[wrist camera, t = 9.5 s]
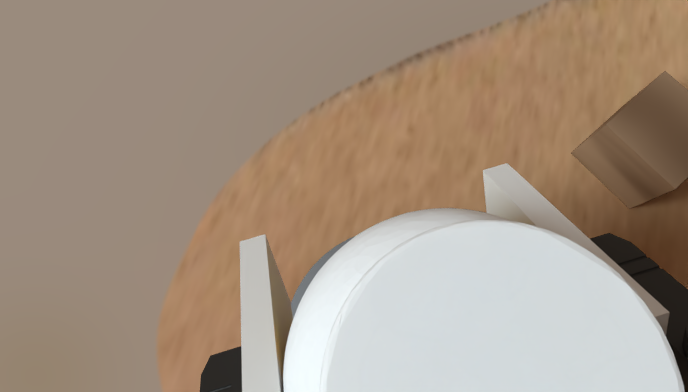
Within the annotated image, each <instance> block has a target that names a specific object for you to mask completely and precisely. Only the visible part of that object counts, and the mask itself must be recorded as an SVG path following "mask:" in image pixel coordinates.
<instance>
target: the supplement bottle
mask: <svg viewBox="0 0 688 392" xmlns="http://www.w3.org/2000/svg"><path fill="white" fill-rule="evenodd" d="M283 385H284V392H685V390H684V385H683V381H682V378H681V375H680V371H679V368H678V365H677V362H676V359H675V356H674V353H673V351H672V349H671V347H670V345H669V342H668V340H667V338H666V336H665V334H664V332H663V330H662V328H661V326H660V324H659V322H658V320H657V319H656V317H655V316H654V314H653V313H652V311H651V310H650V308H649V307H648V305H647V304H646V302H645V301H644V300H643V299H642V297H641V296H640V295H639V294H638V292H637V291H636V290H635V289H634V288H633V287H632V286H631V285H630V284H629V283H628V282H627V281H626V280H625V279H624V278H623V277H622V276H621V275H620V274H619V273H618V272H617V271H616V270H615V269H613V268H612V267H611V266H610V265H609V264H607V263H606V262H605V261H604V260H603V259H601V258H600V257H598V256H597V255H595V254H594V253H592V252H591V251H589V250H588V249H586V248H585V247H583V246H581V245H580V244H578V243H576V242H575V241H572V240H570V239H568V238H566V237H564V236H562V235H559V234H557V233H554V232H552V231H549V230H547V229H544V228H540V227H537V226H534V225H530V224H525V223H521V222H516V221H510V220H508V219H505V218H502V217H499V216H496V215H492V214H489V213H485V212H480V211H474V210H467V209H456V208H437V209H426V210H419V211H414V212H409V213H405V214H402V215H399V216H396V217H393V218H390V219H387V220H385V221H383V222H380V223H378V224H376V225H374V226H372V227H370V228H368V229H366V230H365V231H363V232H361V233H360V234H358V235H357V236H355V237H354V238H352V239H351V240H350V241H349V242H347V243H346V244H345V245H344V246H342V247H341V248H340V249H339V250H338V251H337V252H336V253H335V254H334V255H333V256H332V257H331V258H330V259H329V260H328V261H327V262H326V263H325V264H324V265H323V267H322V268H321V269H320V270H319V271H318V273H317V274H316V275H315V277H314V278H313V280H312V281H311V283H310V285H309V286H308V288H307V290H306V291H305V293H304V295H303V297H302V299H301V301H300V303H299V305H298V308H297V310H296V313H295V316H294V319H293V321H292V324H291V327H290V331H289V335H288V340H287V344H286V350H285V357H284V370H283Z"/></svg>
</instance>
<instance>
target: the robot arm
mask: <svg viewBox="0 0 688 392" xmlns="http://www.w3.org/2000/svg"><path fill="white" fill-rule="evenodd" d="M483 177H484V188H485V199H486V210H487V213H489V214H492V215H496V216H499V217H502V218H505V219H508V220H510V221H516V222H521V223H525V224H530V225H534V226H537V227H540V228H544V229H547V230H549V231H552V232H554V233H557V234H559V235H562V236H564V237H566V238H568V239H570V240H572V241H575V242H576V243H578V244H580V245H581V246H583V247H585V248H586V249H588V250H589V251H591V252H592V253H594V254H595V255H597V256H598V257H600V258H601V259H603V260H604V261H605V262H606V263H607V264H609V265H610V266H611V267H612V268H613V269H615V270H616V271H617V272H618V273H619V274H620V275H621V276H622V277H623V278H624V279H625V280H626V281H627V282H628V283H629V284H630V285H631V286H632V287H633V288H634V289H635V290H636V291H637V292H638V294H639V295H640V296H641V297H642V299H643V300H644V301H645V302H646V304H647V305H648V307H649V308H650V310H651V311H652V313H653V314H654V316H655V317H656V319H657V320H658V322H659V324H660V326H661V328H662V330H663V332H664V334H665V336H666V338H667V340H668V342H669V345H670V347H671V349H672V351H673V353H674V356H675V359H676V362H677V365H678V368H679V371H680V375H681V378H682V381H683V385H684V390H685V392H688V290H687V289H686V288H685V287H684V286H683V285H681V284H680V283H679V282H678V281H677V280H675V279H674V278H673V277H672V276H671V275H669V274H668V273H667V272H666V271H665V270H663V269H660V268H659V265H657V264H656V263H655V262H654V261H653V260H651V259H650V258H647V257H646V255H645V254H644V253H643V252H642V251H641V250H639V249H638V248H637V247H636V246H635V245H633V244H632V243H631V242H629V241H627V240H624V239H622V238H620V237H617V236H615V235H613V234H610V233H607V234H604V235H601V236H598V237H594V238H591V239H589V238H588V237H587V236H586V235H585V234H584V233H583V232H581V231H580V230H579V229H578V228H577V227H576V226H575V225H574V224H573V223H572V222H571V221H569V220H568V219H567V218H566V217H565V216H564V215H563V214H562V213H561V212H560V211H559V210H558V209H556V208H555V207H554V206H553V205H552V204H551V203H550V202H549V201H548V200H547V199H546V198H544V197H543V196H542V195H541V194H540V193H539V192H538V191H537V190H536V189H535V188H534V187H532V186H531V185H530V184H529V183H528V182H527V181H526V180H525V179H524V178H523V177H522V176H520V175H519V174H518V173H517V172H516V171H515V170H514V169H513V168H512V167H511V166H510V165H509V164H507V163H506V164H502V165H499V166H496V167H492V168H489V169H485V170H483ZM240 285H241V347H237V348H234V349H231V350H227V351H224V352H221V353H218V354H214V355H211V356H210V358H209V360H208V362H207V364H206V366H205V368H204V370H203V372H202V374H201V384H200V392H284V385H283V370H284V357H285V350H286V344H287V340H288V335H289V331H290V327H291V324H292V321H293V315H292V308H291V302H290V299H289V297H288V294H287V291H286V289H285V286H284V283H283V281H282V278H281V275H280V273H279V270H278V267H277V265H276V262H275V259H274V256H273V254H272V251H271V248H270V246H269V243H268V240H267V238H266V235H265V234H264V235H261V236H258V237H254V238H251V239H247V240H244V241H241V242H240Z"/></svg>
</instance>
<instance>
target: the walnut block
mask: <svg viewBox="0 0 688 392" xmlns="http://www.w3.org/2000/svg"><path fill="white" fill-rule="evenodd" d="M571 154H572V155H573V156H574V157H576V158H577V159H578V160H579V161H580V162H581V163H582V164H583V165H584V166H585V167H586V168H587V169H588V170H589V171H590V172H591V173H592V174H593V175H594V176H595V177H597V178H598V179H599V180H600V181H601V182H602V183H603V184H604V185H605V186H606V187H607V188H608V189H609V190H610V191H611V192H612V193H613V194H614V195H615V196H616V197H617V198H619V199H620V200H621V201H622V202H623V203H624V204H625V205H626V206H627V207H628V208H629V209H630V208H633V207H635V206H637V205H640V204H642V203H644V202H647V201H649V200H651V199H653V198H656V197H658V196H660V195H663V194H665V193H667V192H670V191H672V190H674V189H676V188H677V187H678V186H679V185H680V184H681V183H682V182H683V181H684V180H685V179H687V178H688V90H687V89H686V88H684V87H683V86H682V85H681V84H680V83H679V82H678V81H676V80H675V79H674V78H673V77H672V76H671V75H669V74H668V73H667V72H666V71H664V72H663V73H662V74H661V75H660V76H658V77H657V78H656V79H655V80H654V81H652V82H651V83H650V84H649V85H648V86H646V87H645V88H644V89H643V90H642V91H640V92H639V93H638V94H637V95H636V96H634V97H633V98H632V99H631V100H630V101H628V102H627V103H626V104H625V105H624V106H622V107H621V108H620V109H619V110H618V111H617V112H616V113H615V114H614V115H612V116H611V117H610V118H609V119H608V120H607V121H606V122H605V123H604V124H602V125H601V126H600V127H599V128H598V129H597V130H596V131H595V132H594V133H592V134H591V135H590V136H589V137H588V138H587V139H586V140H585V141H584V142H582V143H581V144H580V145H579V146H578V147H577V148H576V149H575V150H574V151H573V152H571Z"/></svg>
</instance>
